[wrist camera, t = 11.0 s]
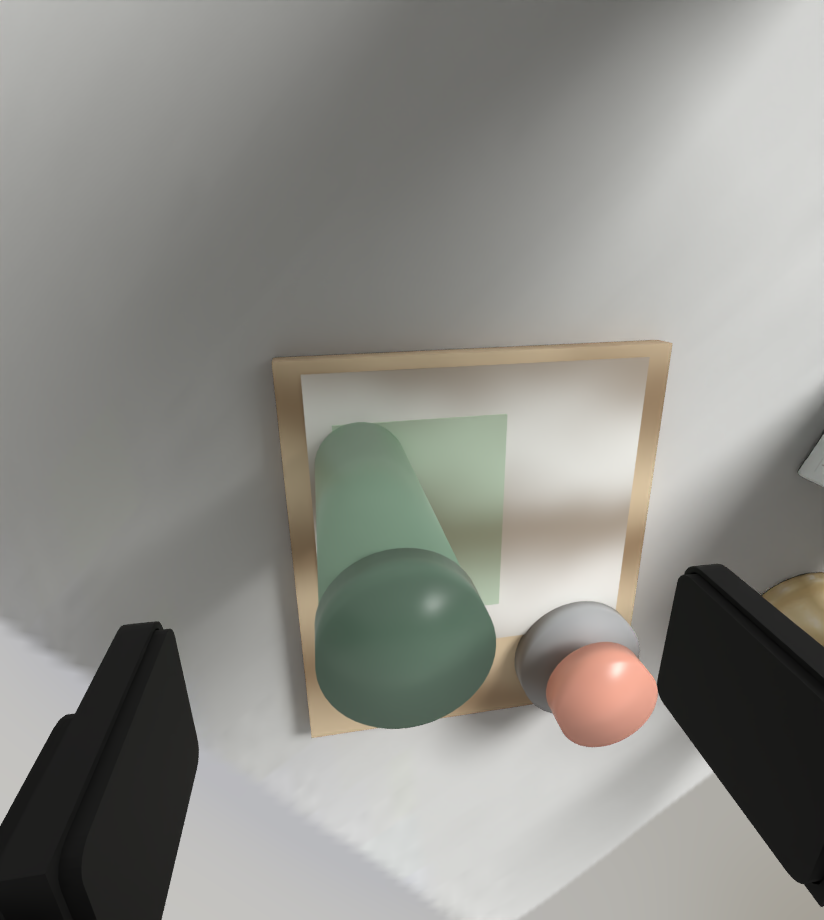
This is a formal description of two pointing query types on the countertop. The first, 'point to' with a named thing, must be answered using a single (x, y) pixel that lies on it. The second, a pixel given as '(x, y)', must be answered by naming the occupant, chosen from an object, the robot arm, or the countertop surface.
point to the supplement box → (814, 465)
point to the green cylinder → (390, 590)
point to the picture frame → (497, 487)
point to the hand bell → (802, 602)
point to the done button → (601, 694)
